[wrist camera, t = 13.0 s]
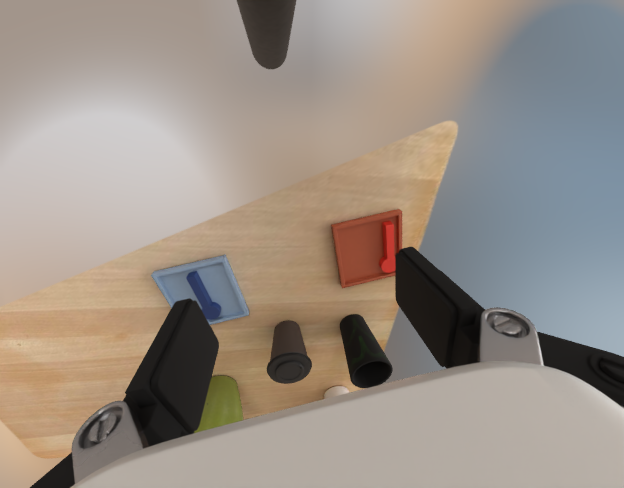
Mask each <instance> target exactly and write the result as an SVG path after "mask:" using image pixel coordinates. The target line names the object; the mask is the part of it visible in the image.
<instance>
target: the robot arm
mask: <svg viewBox="0 0 624 488" xmlns="http://www.w3.org/2000/svg"><path fill="white" fill-rule="evenodd" d="M395 276H396V301H397V303H398V305H399V306H400V308H401V309H402V311H403V312H404V314H405V315H406V316H407V318H408V319H409V321H410V322H411V324H412V325H413V327H414V328H415V330H416V331H417V332H418V334H419V336H420V337H421V338H422V340H423V341H424V343H425V344H426V346H427V347H428V349H429V350H430V351H431V353H432V355H433V356H434V357H435V359H436V360H437V362H438V363H439V364H440V365H441V366H442V367H444V366H445V367H446V369H444V370H440V371H435V372H431V373H427V374H422V375H418V376H414V377H410V378H406V379H402V380H398V381H394V382H390V383H386V384H382V385H378V386H374V387H370V388H366V389H362V390H358V391H354V392H350V393H346V394H342V395H338V396H334V397H331V398H327V399H323V400H319V401H315V402H311V403H307V404H303V405H300V406H296V407H292V408H288V409H284V410H280V411H276V412H273V413H269V414H265V415H261V416H257V417H254V418H250V419H246V420H242V421H238V422H235V423H231V424H227V425H223V426H220V427H216V428H212V429H208V430H204V431H201V432H197V433H194V432H195V431H196V430H197V429H198V428H199V425H200V421H201V417H202V413H203V409H204V405H205V401H206V397H207V393H208V389H209V385H210V381H211V377H212V373H213V369H214V365H215V361H216V357H217V352H218V348H219V342H218V339H217V337H216V336H215V334H214V332H213V330H212V328H211V327H210V325H209V323H208V321H207V319H206V317H205V316H204V314H203V312H202V310H201V308H200V307H199V305H198V303H197V301H195V300H194V301H193V300H192V299H190V298H188V299H184V300H180V301H176V302H175V303H174V305H173V307H172V309H171V310H170V312H169V314H168V316H167V318H166V319H165V321H164V323H163V325H162V327H161V328H160V330H159V332H158V334H157V336H156V337H155V339H154V341H153V343H152V345H151V346H150V348H149V350H148V352H147V354H146V355H145V357H144V359H143V361H142V363H141V365H140V366H139V368H138V370H137V372H136V374H135V375H134V377H133V379H132V381H131V383H130V384H129V386H128V388H127V390H126V392H125V393H126V394H127V395H126V396H125V398H124V400H123V401H115V402H112V403H110V404H107V405H105V406H104V407H102V408H101V409H99V410H98V411H96V412H95V413H94V414H93V415H92V416H91V417H89V419H88V420H87V421H86V422H85V423H84V424H83V425H82V426H81V428H80V429H79V431H78V432H77V434H76V436H75V438H74V440H73V443H72V453H70V454H69V455H68V456H67V457H66V458H64V459H63V460H62V461H61V462H60V463H59V464H57V465H56V466H55V467H54V468H53V469H51V470H50V471H49V472H48V473H47V474H45V475H44V476H43V477H42V478H41V479H40V480H38V481H37V482H36V483H35V484H34V485H32V486H31V487H30V488H624V357H622V356H619V355H616V354H614V353H610V352H607V351H603V350H600V349H596V348H593V347H589V346H586V345H582V344H579V343H575V342H572V341H568V340H565V339H561V338H558V337H554V336H550V335H547V334H544V333H540V332H537V330H536V328H535V326H534V324H533V323H532V322H531V321H530V320H529V319H527V318H526V317H525V316H523V315H522V314H519V313H517V312H515V311H513V310H509V309H505V308H490V309H487V310H485V309H484V308H482V307H481V306H480V305H479V304H478V303H477V302H475V300H473V299H472V298H471V297H470V296H469V295H468V294H467V293H465V292H464V291H463V290H462V289H461V288H460V287H459V286H458V285H456V284H455V283H454V282H453V281H452V280H451V279H450V278H449V277H447V276H446V275H445V274H444V273H443V272H442V271H440V270H438V269H437V268H436V267H435V266H434V265H433V264H432V263H430V262H429V261H428V260H427V259H426V258H425V257H424V256H423V255H421V254H420V253H419V252H418V251H417V250H416V249H415V248H413V247H408V248H403V249H400V250H399V252H398V253H396V255H395Z"/></svg>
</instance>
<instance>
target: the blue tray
mask: <svg viewBox="0 0 624 488" xmlns="http://www.w3.org/2000/svg"><path fill="white" fill-rule="evenodd" d="M195 271H197V272H198V274H199V276H200V278H201V280H202V282H203V284H204V286H205V288H206V290H207V292H208V294H209V296H210V298H211V300H212V302H216V303H218V304H219V305H220V306H221V313H220V316H219V317H218V318H217V319H214V320H208V319H207V321H208V323H209V325H211V324H215V323H219V322H223V321H227V320H232V319H236V318H240V317H244V316H248V315H249V309H248V307H247V305H246V302H245V300H244V298H243V295H242V293H241V291H240V288H239V286H238V283H237V281H236V279H235V276H234V274H233V272H232V269H231V267H230V264H229V262H228V260H227V257H226V255H223V256H218V257H214V258H210V259H205V260H201V261H197V262H192V263H188V264H184V265H180V266H175V267H171V268H167V269H162V270H158V271H154V272H153V274H152V275H151V276H152V278H153V279H154V281H155V282H156V284H157V286H158V287H159V289H160V290H161V292H162V294H163V295H164V297H165V298H166V300H167V302H168V303H169V305H170V306H171V308H172V307H173V305H174V303H175V302H176V301H180V300H184V299H188V298H190V299H192V300H193V301H194V300H195V301H197V303H198V305H199V307H200V308H201V309H202V307H201V305H200V303H199V301H198V299H197V297H196V296H195V294H194V292H193V290H192V288H191V286H190V285H189V283H188V281H187V279H186V277H187V275H188V274H189V273H190V272H195Z"/></svg>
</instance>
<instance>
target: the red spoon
mask: <svg viewBox="0 0 624 488" xmlns="http://www.w3.org/2000/svg"><path fill="white" fill-rule="evenodd" d="M382 229H383V250H384V256H383V257H382V258H381V259H380V262H379V266H380V268H381V269H382V270H383V271H384V272H386V273H390V272H393V271H395V256H394V224H393V223H392V222H391V221H387V222H382Z"/></svg>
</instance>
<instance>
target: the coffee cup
mask: <svg viewBox="0 0 624 488" xmlns="http://www.w3.org/2000/svg"><path fill="white" fill-rule="evenodd" d="M311 367H312V362H311V360H310V358H309V357H308V356H307V352H306V349H305V345H304V342H303V338H302V334H301V331H300V327H299V325H298V324H297V323H296V322H294V321H289V320H288V321H283V322H280V323H279V324H277V326H276V327H275V330H274V337H273V344H272V352H271V359H270V362H269V363H268V366H267V373H268V375H269V376H270V378H271V379H272V380H274V381H276V382H278V383H284V384H288V383H294V382H297V381H300V380H302V379H303V378H305V377H306V376H307V375H308V374H309V372H310V369H311Z"/></svg>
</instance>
